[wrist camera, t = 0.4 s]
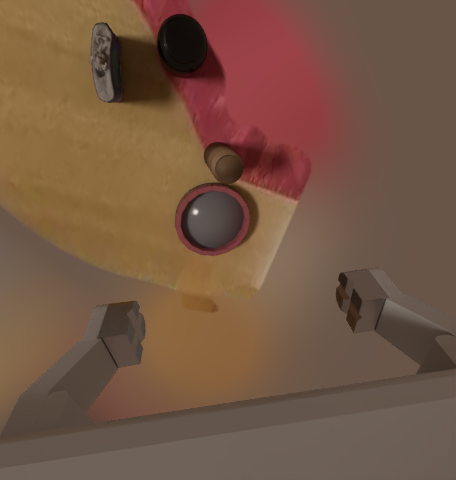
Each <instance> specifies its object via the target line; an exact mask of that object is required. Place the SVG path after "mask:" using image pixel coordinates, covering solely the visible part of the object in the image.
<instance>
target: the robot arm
mask: <svg viewBox="0 0 456 480" xmlns="http://www.w3.org/2000/svg"><path fill="white" fill-rule="evenodd" d="M338 281H339V282H340V285H339V286H338V287H337V288H336V300H337V303H338V306H339V308H340V310H341V311H343V312H344V313H346V314H347V317H346V320H347V322H348V324H349V326H350V327H351V329H352V331H353V333H358V332H367V331H375V332H376V333H378V334H379V335H380V336H382V337H383V338H384V339H386V340H387V341H388V342H390V343H391V344H392V345H394V346H395V347H396V348H398V349H399V350H401V351H402V352H403V353H404V354H406V355H407V356H408V357H410V358H411V359H412V360H414V361H415V362H416V363H418V364H419V365H420V367H419V369H418V371H417V373H416V374H415V375H409V376H403V377H396V378H389V379H382V380H376V381H369V382H362V383H356V384H349V385H343V386H336V387H330V388H323V389H316V390H309V391H304V392H296V393H290V394H284V395H277V396H270V397H263V398H257V399H250V400H244V401H237V402H230V403H224V404H217V405H211V406H204V407H198V408H191V409H184V410H178V411H171V412H165V413H158V414H151V415H145V416H138V417H132V418H125V419H118V420H111V421H105V422H98V423H92V421H91V420H90V419H89V418H88V417H87V416H86V413H87V411H88V410H89V409H90V407H91V406H92V404H93V403H94V402H95V400H96V399H97V397H98V396H99V395H100V393H101V392H102V391H103V389H104V388H105V386H106V385H107V384H108V382H109V381H110V380H111V378H112V377H113V375H114V374H115V373H116V371H117V370H118V368H120V367H125V366H131V365H136V364H140V362H141V356H142V351H143V347H142V345H141V342H142V340H143V339H144V338H145V320H144V317H143V315H142V314H141V313H139V308H140V307H139V304H138V302H137V301H130V302H120V303H112V304H105V305H97V306H96V307H95V308H94V311H93V313H92V316H91V318H90V321H89V324H88V326H87V329H86V332H85V334H84V337H83V339H82V341H79V342H77V343H76V344H75V345H74V346H73V347H72V348H71V349H69V350H68V352H66V353H65V355H63V356H62V357H61V358H60V359H59V360H58V361H57V362H56V363H55V364H54V365H52V366H51V367H50V368H49V369H48V370H47V371H46V372H45V373H44V374H43V375H42V376H41V377H40V378H39V379H38V380H36V381H35V382H34V383H33V384H32V385H31V386H30V387H29V388H28V389H27V390H26V391H25V392H23V394H21V396H20V397H19V399H18V401H17V403H16V405H15V407H14V409H13V411H12V413H11V415H10V417H9V419H8V421H7V423H6V425H5V427H4V429H3V431H2V433H1V435H0V480H456V318H454V317H451V316H449V315H447V314H445V313H443V312H441V311H439V310H437V309H435V308H433V307H431V306H429V305H427V304H425V303H423V302H421V301H418V300H416V299H414V298H412V297H410V296H408V295H406V296H404V295H403V294H402V293H401V292H400V291H399V289H398V288H397V287H396V286H395V285H394V283H393V282H392V281H391V280H390V279H389V278H388V276H387V275H386V274H385V273H384V272H383V271H382V270H381V268H379V267H375V268H368V269H362V270H355V271H348V272H341V273H340V274H339V278H338Z"/></svg>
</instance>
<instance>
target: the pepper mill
mask: <svg viewBox="0 0 456 480" xmlns="http://www.w3.org/2000/svg"><path fill="white" fill-rule="evenodd" d="M204 160H205V162H206V164H207V166H208V167H209V169H210V171H211V172H212V174H213V175H214V177H215V178H216V180H217V181H219V182H221V183H223V184H231V183H234V182H236V181H237V180H238V179H239V178H240V177H241V175H242V173H243V169H244V166H243V161H242V159H241V158H240V157H239V156H238V155H237V154H236V153H235V152H233V151H232V150H231V149H229V148H228V147H227V146H226V145H224V144H223V143H220V142H215V143H212V144H210V145H209V146H208V147H207V148H206V150H205V152H204Z"/></svg>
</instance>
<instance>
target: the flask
mask: <svg viewBox="0 0 456 480" xmlns="http://www.w3.org/2000/svg"><path fill="white" fill-rule="evenodd" d="M120 56H121V43H120V42H119V40H118V39H117V37H116V36H115V34H114V33H113V32H112V30H111V28H110V27H109V26H108V24H107V23H101V22H100V23H97V24H95V26H94V28H93V32H92V43H91V57H90V63H91V64H92V65H91V67H92V72H93V78H94V83H95V88H96V92H97V94H98V97H99V98H100V99H101V100H102V101H104V102H108V103H111V102H116V103H117V102H120V101H121V100H122V99H123V89H122V83H121V82H122V76H123V75H122V70H121V68H120V64H121V61H120Z"/></svg>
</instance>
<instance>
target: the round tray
mask: <svg viewBox="0 0 456 480" xmlns="http://www.w3.org/2000/svg"><path fill="white" fill-rule="evenodd" d="M249 223H250V215H249V210H248V206H247V204H246V203H245V201H244V200H243V199H242V197H241V196H240V194H239V193H238V192H236V191H235V190H234V189H232V188H231V187H229V186H227V185H224V184H220V183H206V184H202V185H199V186H196V187H194V188H193V189H191V190H190V191H188V192H187V193H186V194H185V195H184V196H183V198H182V199H181V201H180V202H179V204H178V207H177V210H176V216H175V227H176V230H177V233H178V236H179V239H180V240H181V241H182V243H183V244H184V245H185V246H186V247H187V248H188V249H189V250H192V251H194V252H196V253H198V254H200V255H201V254H202V255H210V256H215V255H220V254H223V253H226V252H228V251H231V250H232V249H233V248H235V247H236V246H237V245H239V243H241V241H242V240H243V238H244V237H245V235H246V234H247V232H248V228H249Z"/></svg>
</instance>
